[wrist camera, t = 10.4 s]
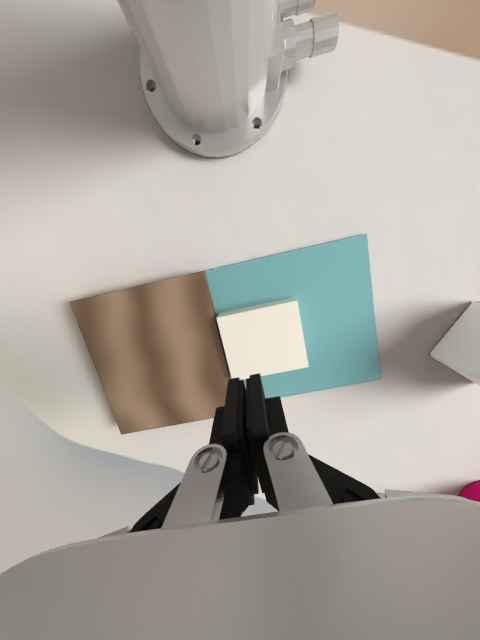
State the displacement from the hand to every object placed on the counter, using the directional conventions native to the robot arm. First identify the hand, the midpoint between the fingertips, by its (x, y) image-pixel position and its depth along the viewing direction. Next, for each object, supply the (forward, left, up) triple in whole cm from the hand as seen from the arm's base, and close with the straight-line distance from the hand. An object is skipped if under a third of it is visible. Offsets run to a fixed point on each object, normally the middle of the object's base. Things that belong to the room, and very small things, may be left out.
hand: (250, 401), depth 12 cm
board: (+10, +1, -14) cm, 17 cm away
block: (-1, +1, -13) cm, 13 cm away
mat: (-5, +1, -14) cm, 15 cm away
